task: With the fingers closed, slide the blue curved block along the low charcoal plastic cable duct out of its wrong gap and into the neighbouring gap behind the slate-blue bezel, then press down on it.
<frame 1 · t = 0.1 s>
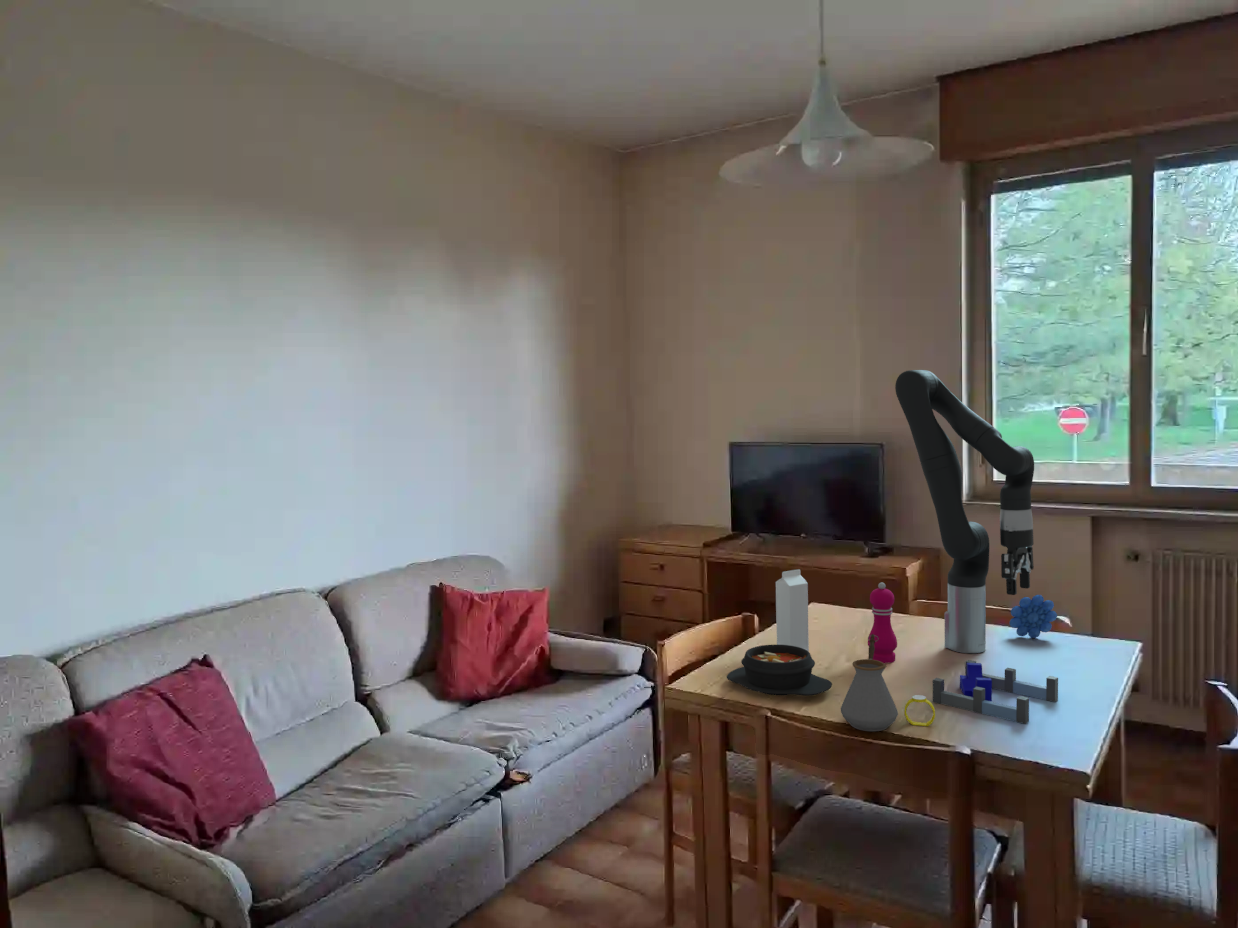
hand: (1018, 591, 220), 17 cm above the table, tool pointing down, fingers open, 8 cm apart
pepper mill: (882, 660, 224), on the table
coffee pot: (870, 716, 187), on the table
milk: (792, 653, 233), on the table
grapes: (1032, 637, 240), on the table
blue curved block: (975, 698, 197), on the table
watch: (919, 725, 181), on the table
casserole: (778, 688, 206), on the table
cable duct: (995, 700, 193), on the table
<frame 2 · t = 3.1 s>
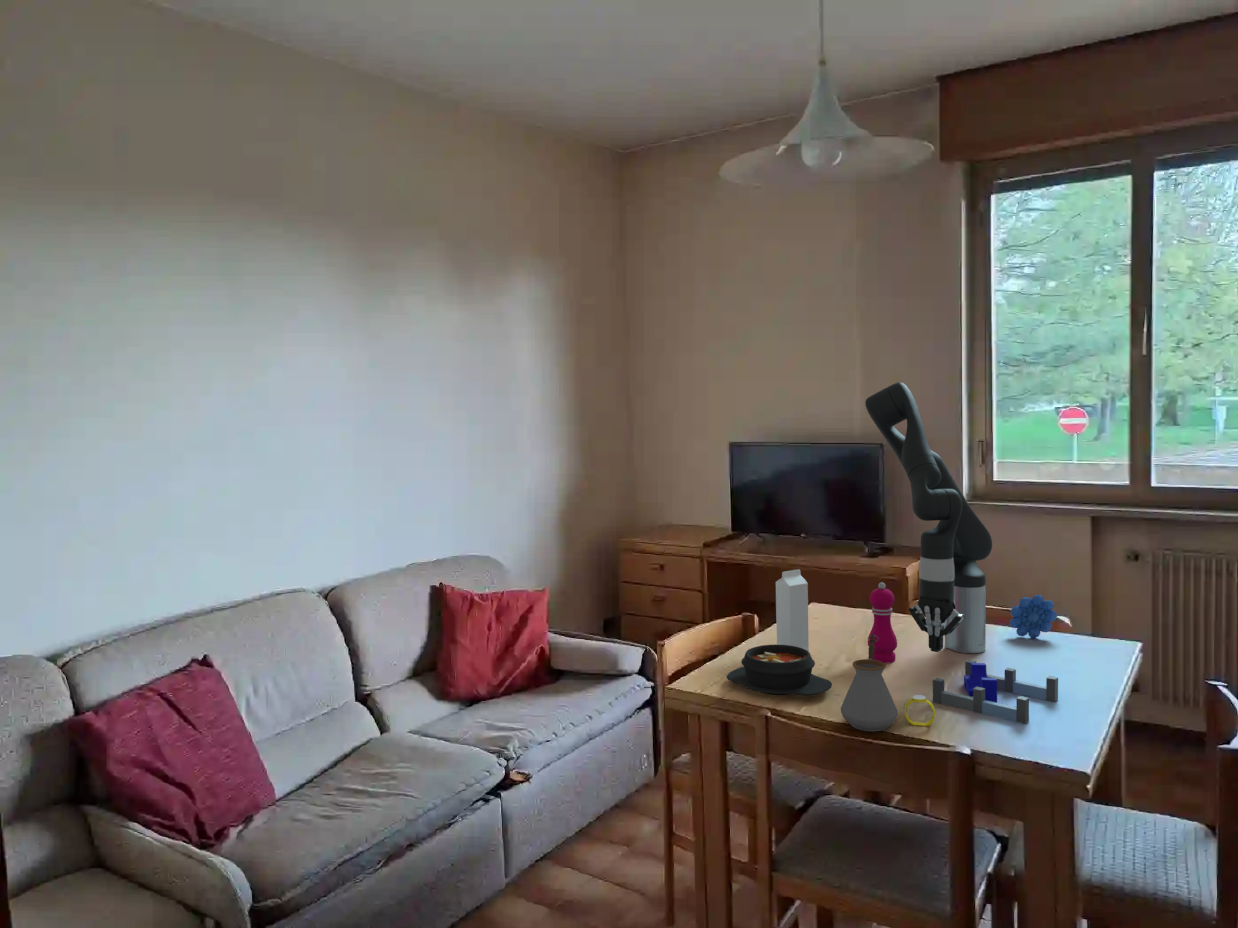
hand: (935, 650, 202), 9 cm above the table, tool pointing down, fingers closed
blue curved block: (980, 698, 196), on the table
everything else where it was.
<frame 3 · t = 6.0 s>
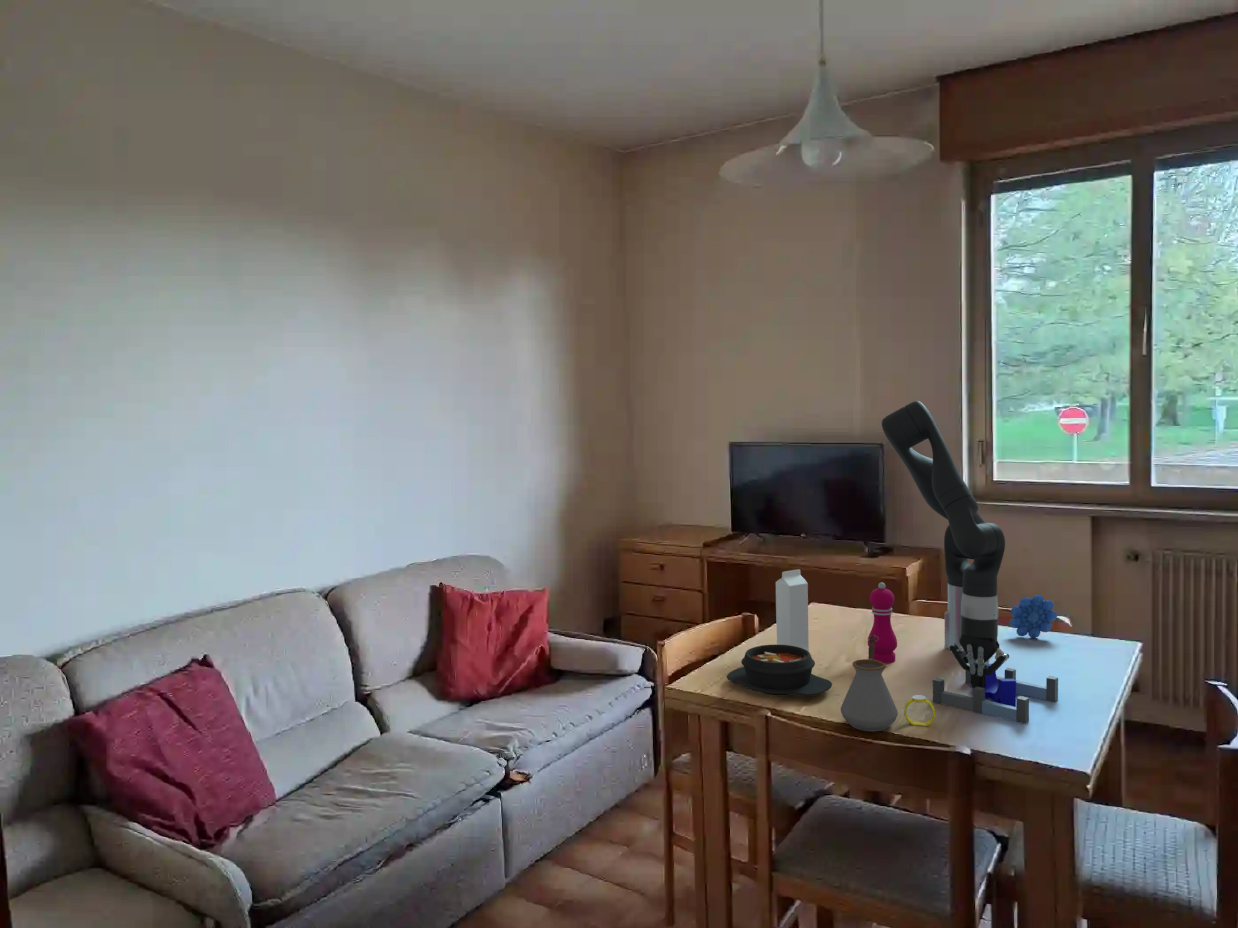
hand: (978, 690, 195), 2 cm above the table, tool pointing down, fingers closed
blue curved block: (993, 699, 195), on the table, touching gripper
everything else where it was.
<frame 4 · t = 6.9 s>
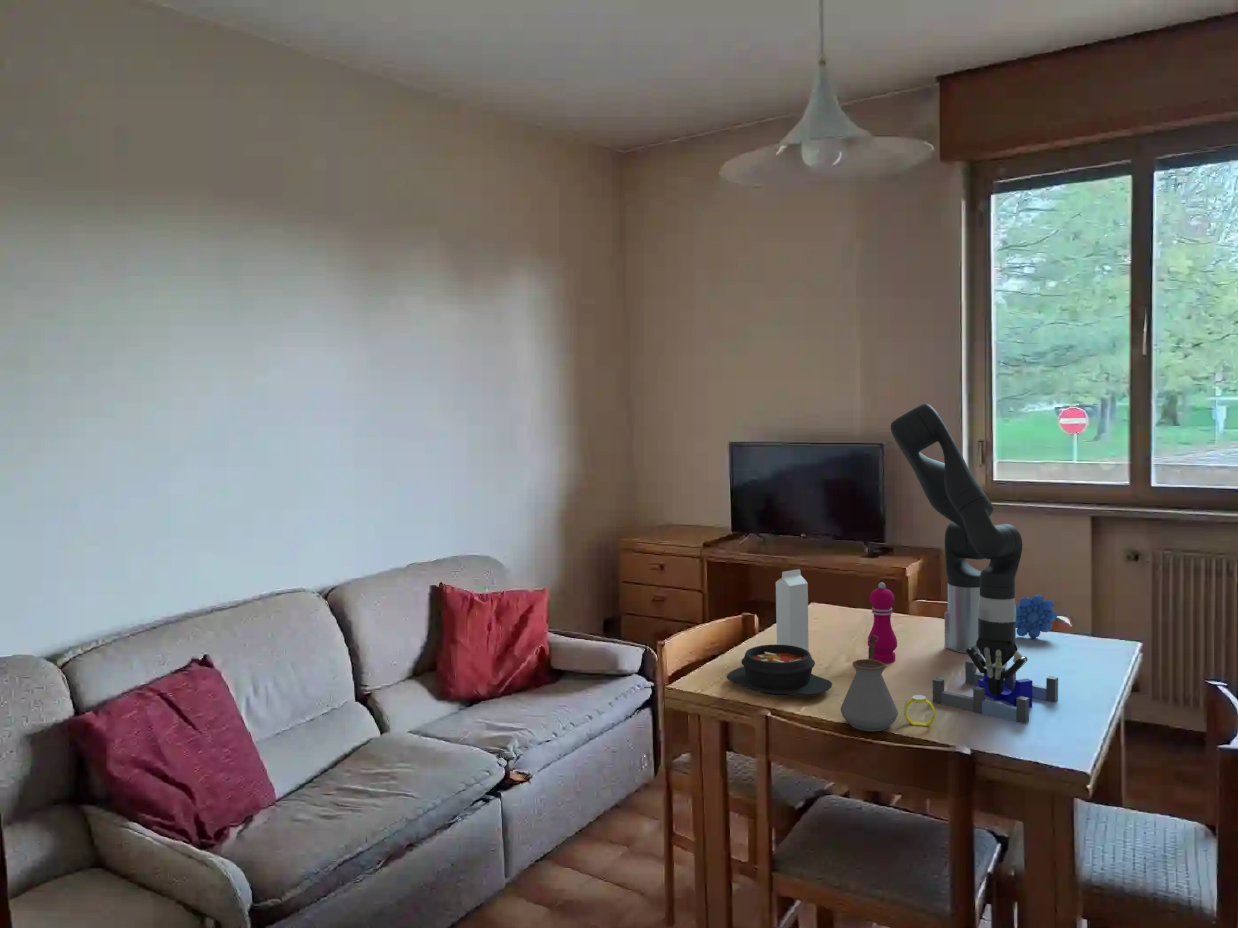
hand: (996, 694, 193), 2 cm above the table, tool pointing down, fingers closed
blue curved block: (1004, 700, 194), on the table, touching gripper
everything else where it was.
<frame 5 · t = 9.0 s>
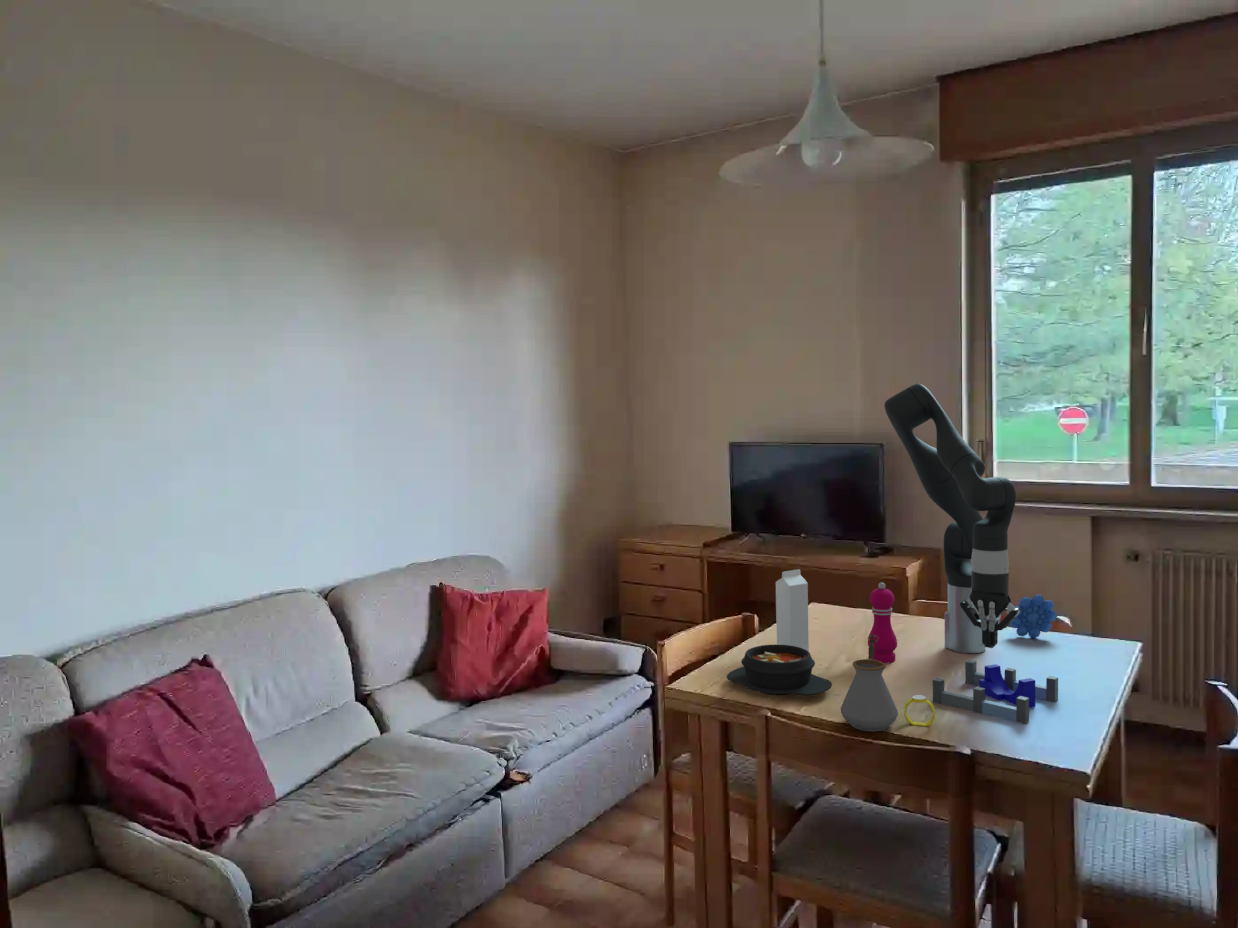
hand: (989, 646, 193), 12 cm above the table, tool pointing down, fingers closed
blue curved block: (1006, 700, 194), on the table
everything else where it was.
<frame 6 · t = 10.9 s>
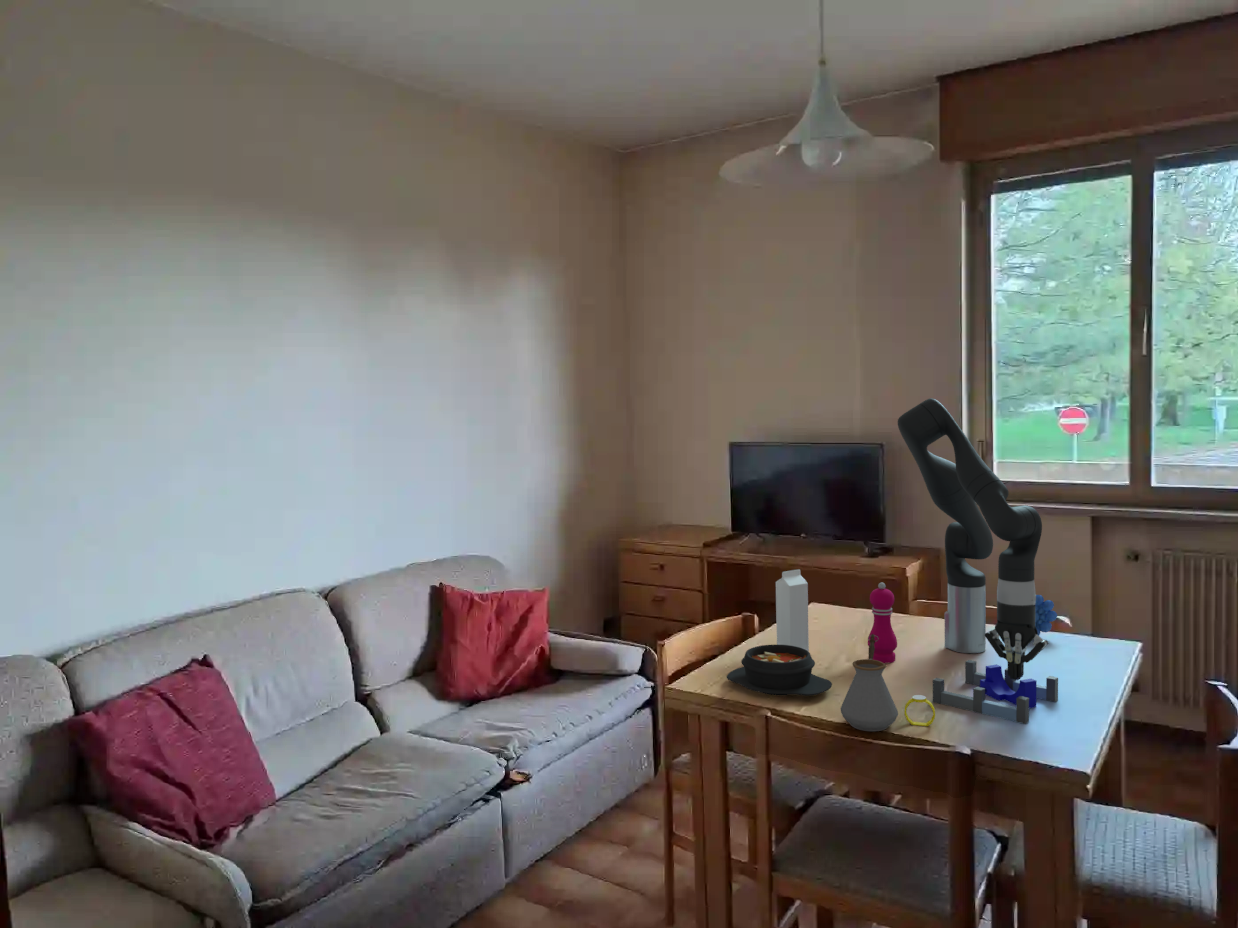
hand: (1015, 678, 190), 6 cm above the table, tool pointing down, fingers closed
nothing on the table moved.
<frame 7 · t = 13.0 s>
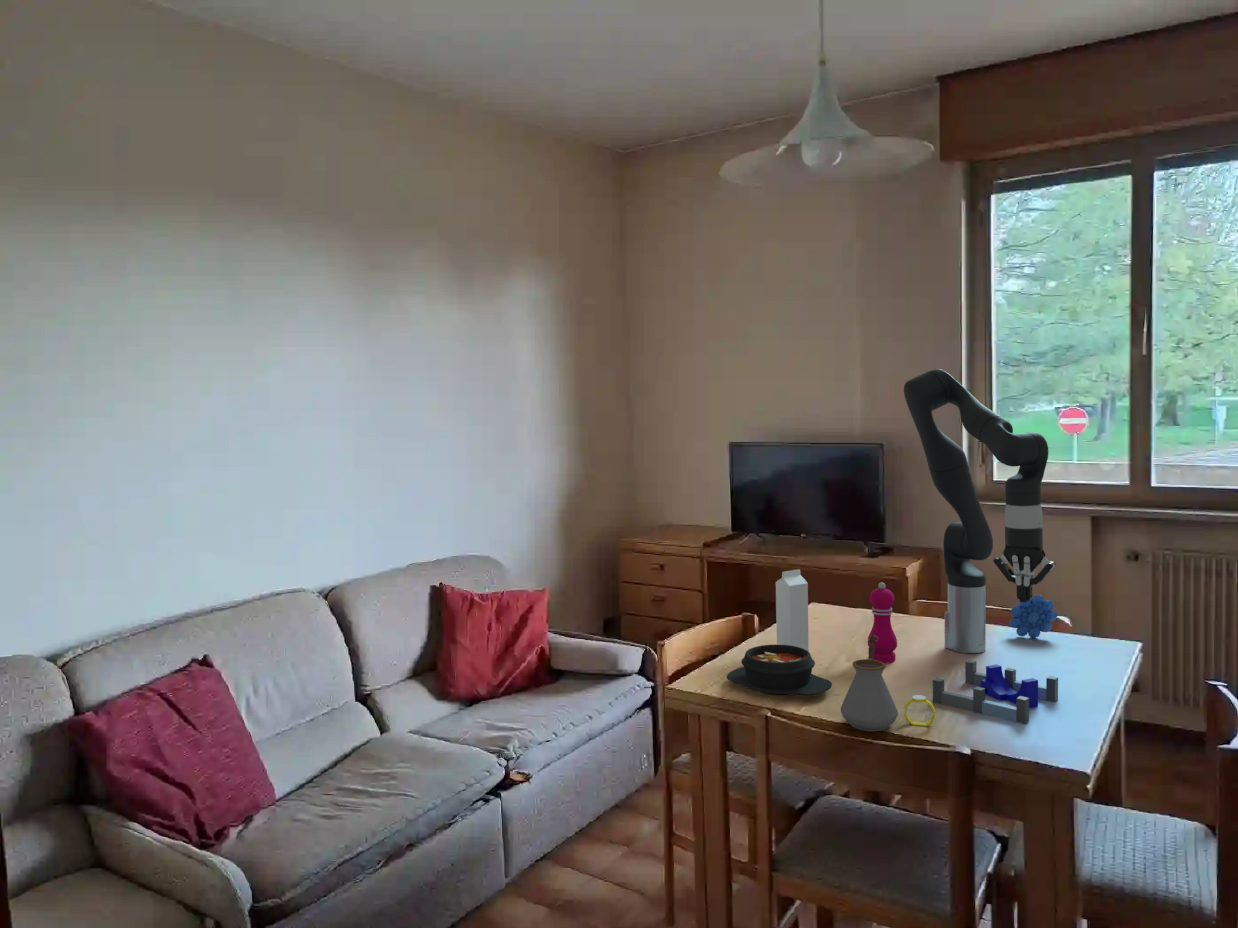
hand: (1024, 601, 194), 21 cm above the table, tool pointing down, fingers closed
nothing on the table moved.
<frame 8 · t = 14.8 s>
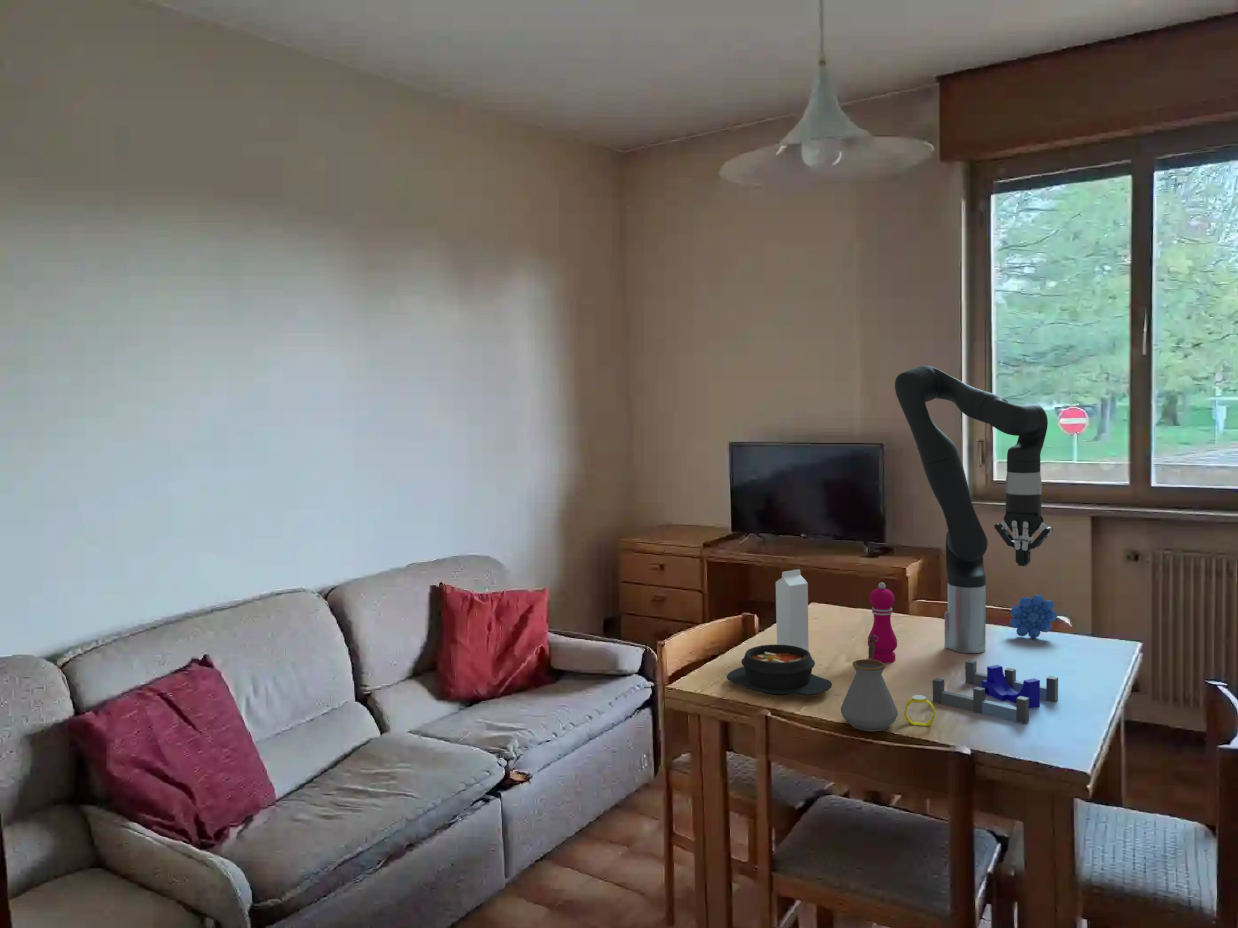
hand: (1023, 565, 204), 27 cm above the table, tool pointing down, fingers closed
nothing on the table moved.
at the end: blue curved block inside the target area (4.0 cm from its centre), on the table; blue curved block tilted 0°; the gripper is holding nothing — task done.
